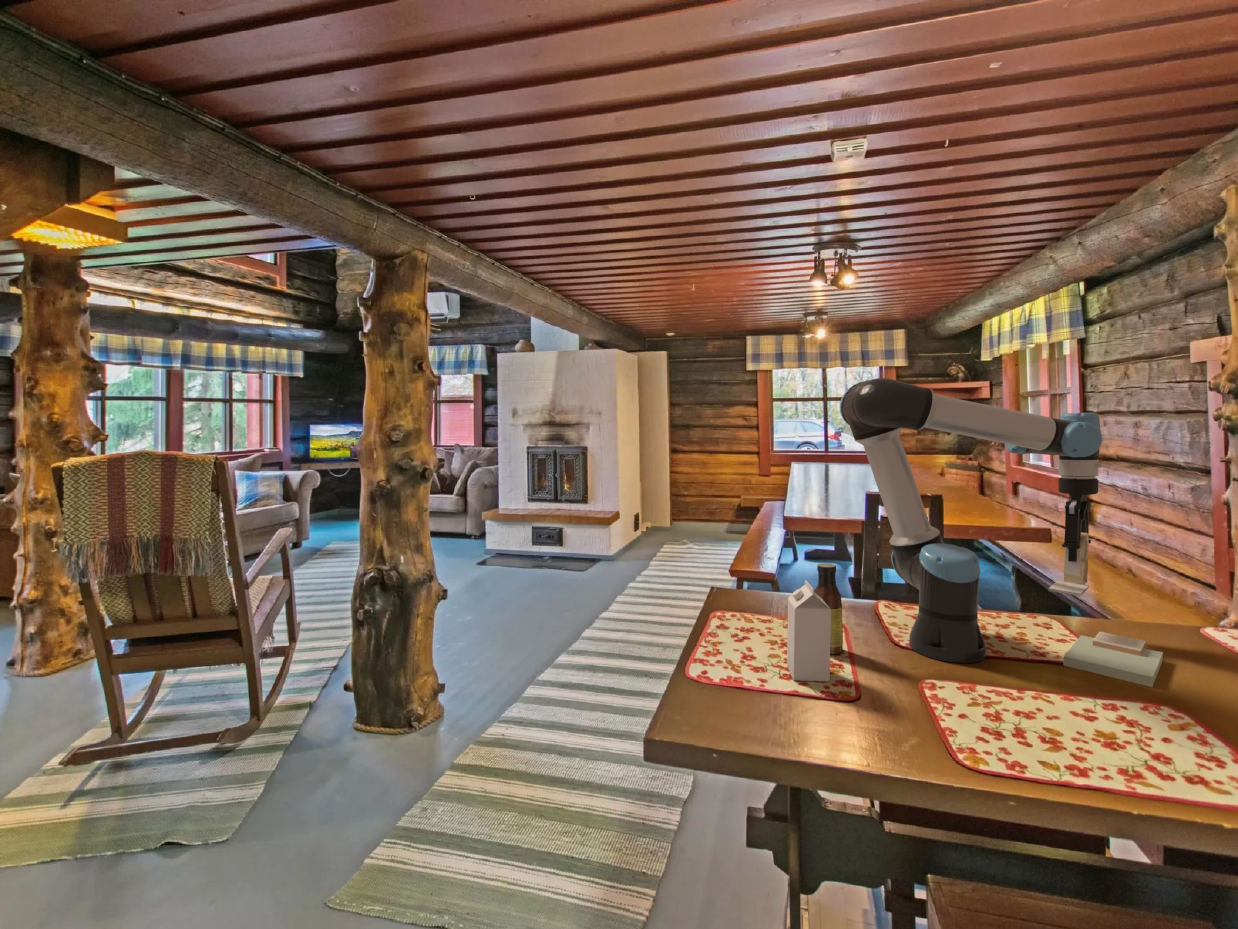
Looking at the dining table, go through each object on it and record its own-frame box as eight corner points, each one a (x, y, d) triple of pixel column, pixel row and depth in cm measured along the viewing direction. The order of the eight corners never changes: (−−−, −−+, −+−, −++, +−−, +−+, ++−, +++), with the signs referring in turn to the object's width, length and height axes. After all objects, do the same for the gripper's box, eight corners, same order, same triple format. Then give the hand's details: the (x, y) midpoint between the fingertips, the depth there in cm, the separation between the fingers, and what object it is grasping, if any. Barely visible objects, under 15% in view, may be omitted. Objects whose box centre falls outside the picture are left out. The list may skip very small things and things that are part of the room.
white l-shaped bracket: (1063, 578, 144) (1064, 530, 143) (1093, 582, 139) (1095, 533, 139) (1048, 590, 134) (1049, 539, 133) (1080, 596, 129) (1082, 543, 129)
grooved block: (1080, 643, 135) (1081, 635, 135) (1162, 661, 124) (1163, 652, 124) (1063, 665, 123) (1063, 656, 123) (1152, 687, 112) (1152, 677, 112)
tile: (1099, 636, 134) (1099, 631, 134) (1145, 646, 128) (1145, 640, 128) (1092, 645, 128) (1092, 640, 128) (1140, 656, 122) (1140, 650, 122)
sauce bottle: (845, 648, 133) (847, 563, 131) (839, 658, 127) (841, 569, 126) (816, 643, 136) (817, 560, 135) (809, 651, 131) (810, 566, 129)
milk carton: (820, 667, 122) (822, 580, 121) (829, 682, 115) (831, 589, 114) (786, 666, 123) (788, 579, 122) (793, 681, 116) (794, 588, 115)
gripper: (1090, 481, 129) (1087, 582, 130) (1105, 474, 141) (1103, 567, 143) (1049, 479, 134) (1047, 576, 136) (1067, 473, 147) (1065, 562, 149)
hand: (1076, 571), depth 139 cm, fingers closed on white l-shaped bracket, 6 cm apart
